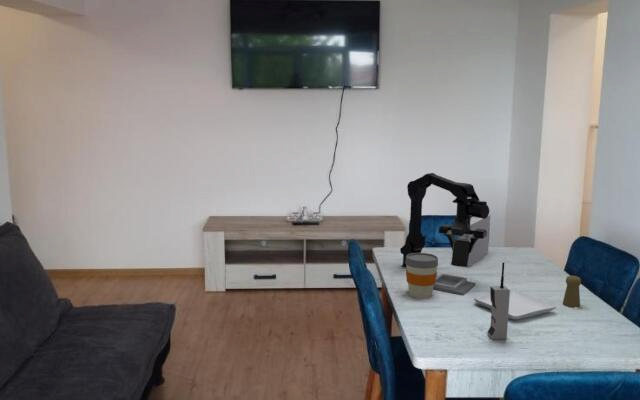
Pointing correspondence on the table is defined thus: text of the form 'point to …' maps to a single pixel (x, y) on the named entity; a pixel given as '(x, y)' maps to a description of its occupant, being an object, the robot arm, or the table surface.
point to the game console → (481, 244)
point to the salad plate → (519, 304)
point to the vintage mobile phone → (499, 310)
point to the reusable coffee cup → (421, 274)
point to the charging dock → (453, 284)
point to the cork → (572, 292)
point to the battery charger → (460, 252)
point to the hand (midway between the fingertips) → (461, 251)
